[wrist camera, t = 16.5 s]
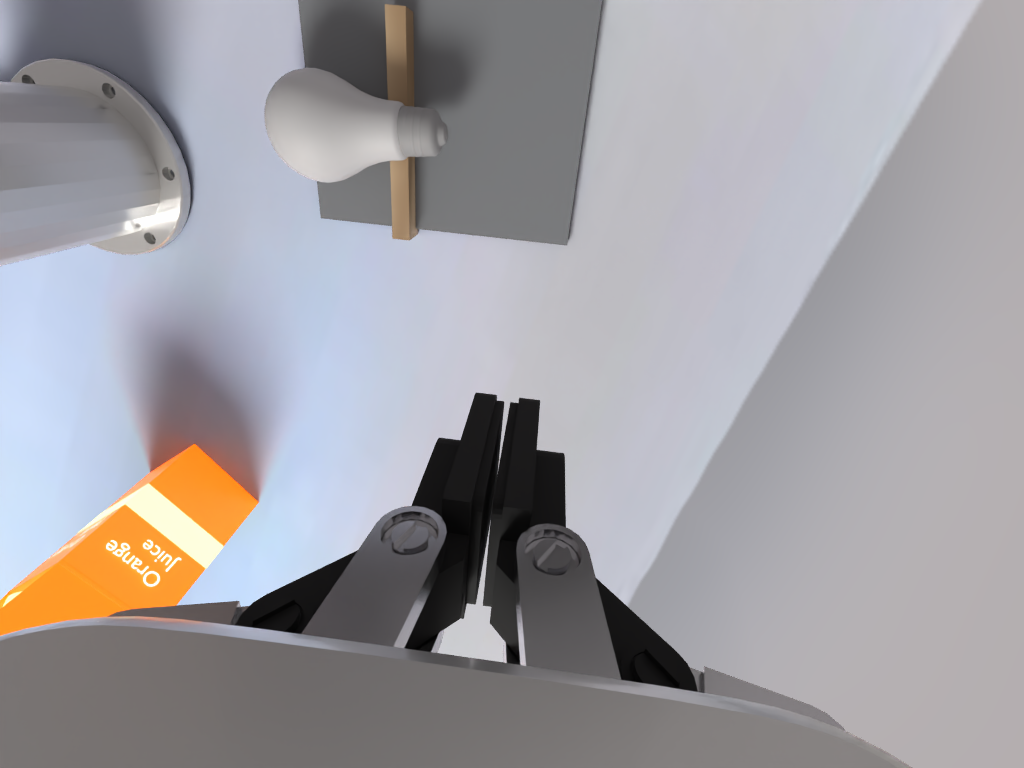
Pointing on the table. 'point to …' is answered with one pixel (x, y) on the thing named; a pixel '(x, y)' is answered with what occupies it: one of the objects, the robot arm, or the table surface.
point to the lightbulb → (344, 126)
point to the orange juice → (136, 547)
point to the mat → (471, 109)
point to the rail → (403, 91)
